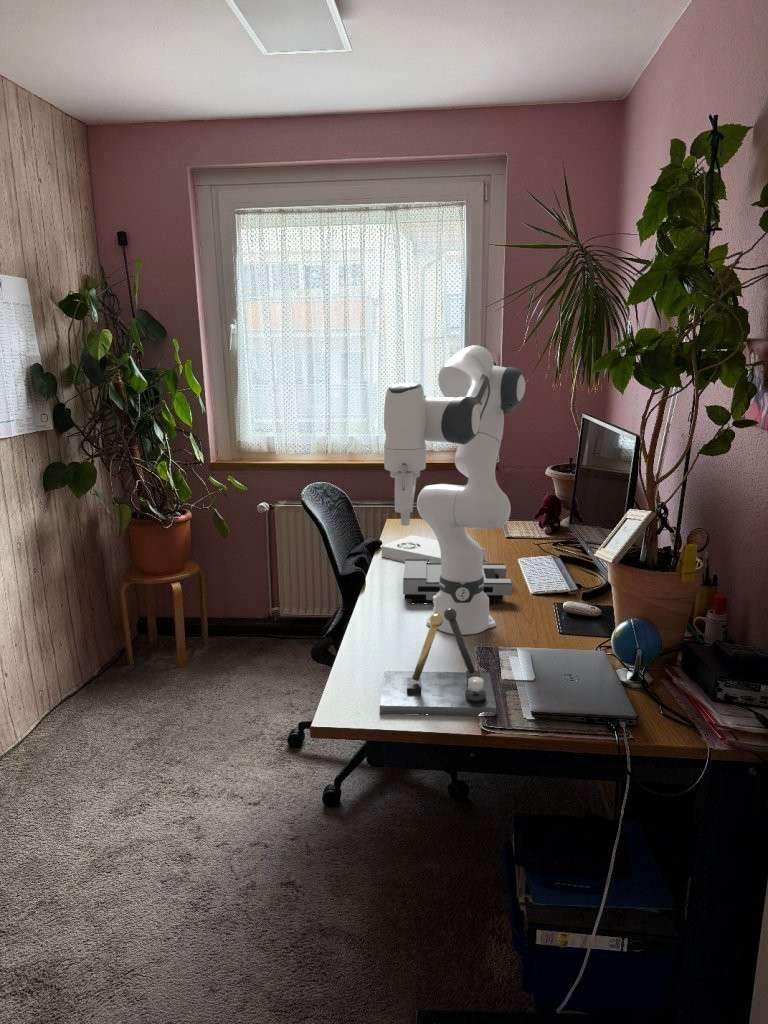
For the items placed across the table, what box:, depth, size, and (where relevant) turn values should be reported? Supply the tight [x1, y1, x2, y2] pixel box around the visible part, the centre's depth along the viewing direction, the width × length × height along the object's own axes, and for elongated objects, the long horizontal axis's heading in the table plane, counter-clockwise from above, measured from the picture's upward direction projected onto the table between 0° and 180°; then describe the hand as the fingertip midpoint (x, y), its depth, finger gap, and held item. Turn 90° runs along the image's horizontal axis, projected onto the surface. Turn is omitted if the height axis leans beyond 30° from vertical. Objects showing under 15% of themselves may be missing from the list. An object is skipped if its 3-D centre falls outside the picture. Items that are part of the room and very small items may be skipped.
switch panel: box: [379, 670, 497, 717], centre depth 150 cm, size 16×24×3 cm, turn 86°
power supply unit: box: [381, 535, 486, 563], centre depth 252 cm, size 19×33×5 cm, turn 52°
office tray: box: [402, 559, 513, 606], centre depth 215 cm, size 21×32×8 cm, turn 86°
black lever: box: [444, 608, 476, 674], centre depth 152 cm, size 3×3×16 cm
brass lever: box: [412, 614, 443, 681], centre depth 148 cm, size 3×3×16 cm
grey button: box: [468, 677, 484, 692], centre depth 145 cm, size 3×3×2 cm
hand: (405, 523), depth 150 cm, fingers closed
